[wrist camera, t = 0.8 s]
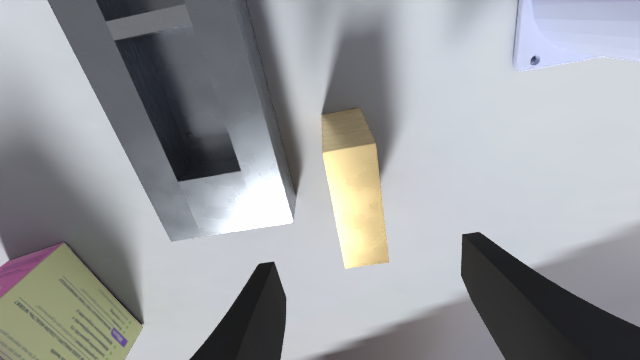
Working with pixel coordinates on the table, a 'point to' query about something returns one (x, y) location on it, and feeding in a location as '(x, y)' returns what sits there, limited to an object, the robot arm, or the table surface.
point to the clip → (354, 187)
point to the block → (187, 108)
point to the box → (60, 311)
